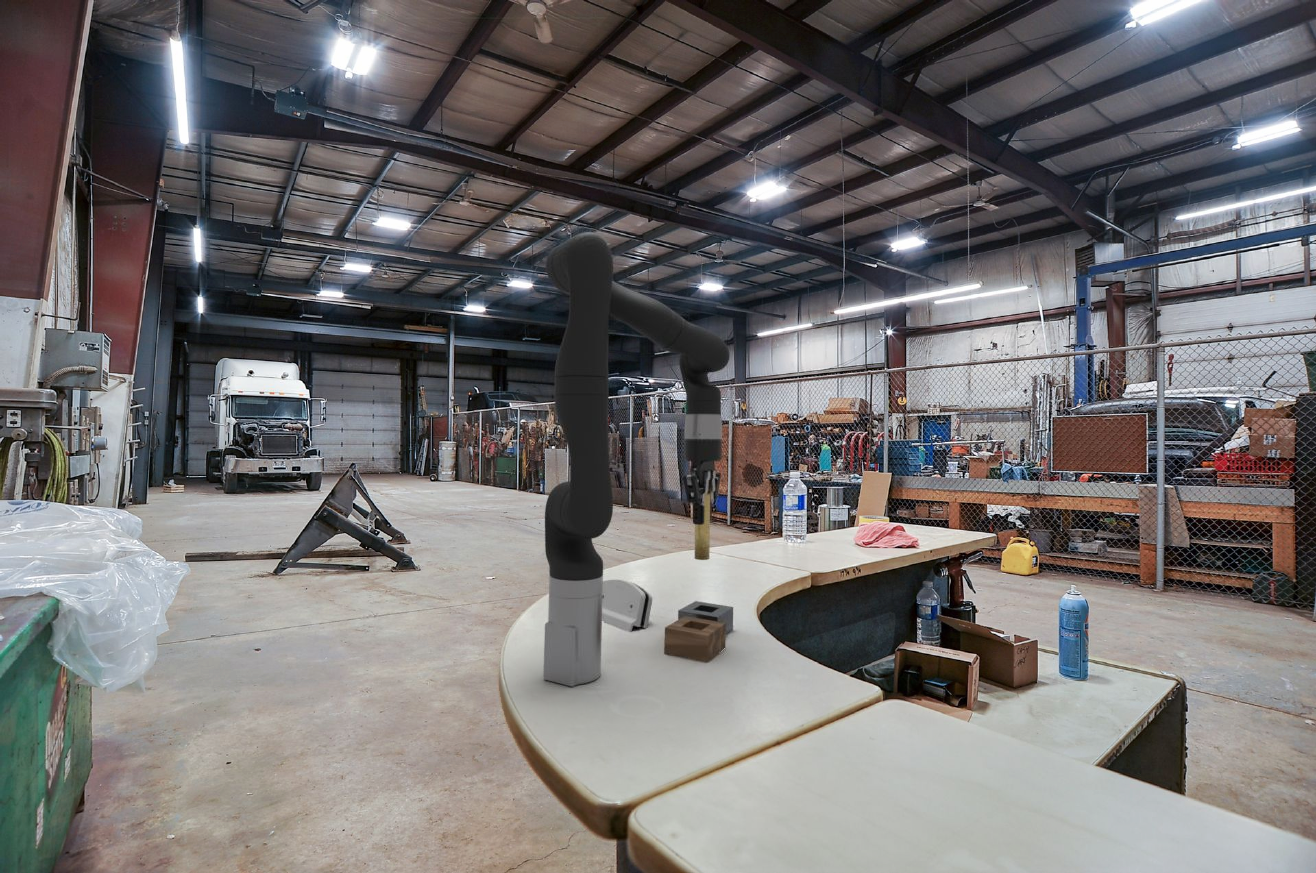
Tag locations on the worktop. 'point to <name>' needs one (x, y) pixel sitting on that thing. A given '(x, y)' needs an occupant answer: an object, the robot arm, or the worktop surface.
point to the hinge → (625, 604)
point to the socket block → (709, 613)
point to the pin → (703, 533)
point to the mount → (695, 638)
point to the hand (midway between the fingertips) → (702, 522)
